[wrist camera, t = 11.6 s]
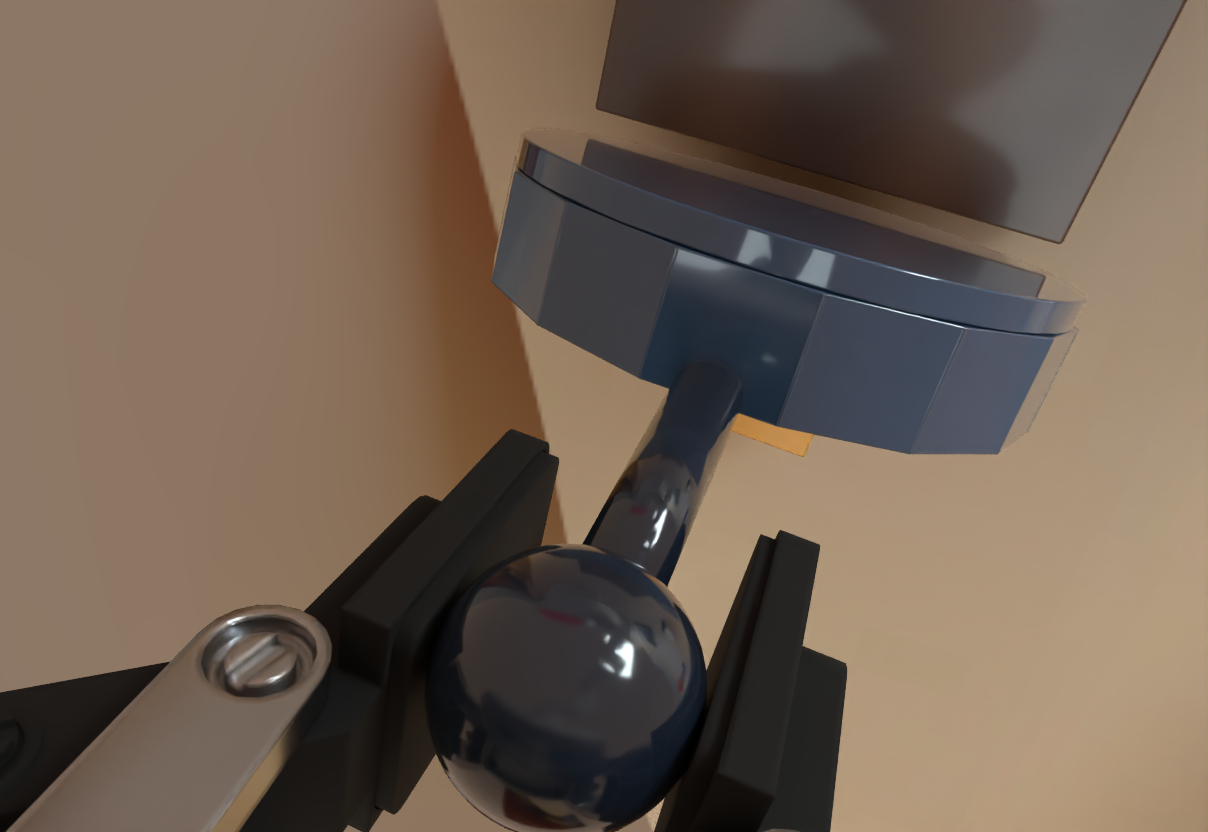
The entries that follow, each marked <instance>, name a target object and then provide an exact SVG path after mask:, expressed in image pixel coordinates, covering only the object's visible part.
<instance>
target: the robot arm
mask: <svg viewBox="0 0 1208 832" xmlns="http://www.w3.org/2000/svg"><path fill="white" fill-rule="evenodd" d="M558 466H559V458H558V457H556V456H553V455H550V454H549V444H548V442H545V441H542V440H540V439H537V438H535V437H532V436H529V435H527V434H524V433H521V432H519V431H516V430H513V429H511V430H509V431H508V432H506V433H505V435H504V436H503V437H502V438H501V439H500V440H499V441H498V442H497V443H496V444H495V445H494V446H493V447H492V448H491V449H490V450H489V452H488V453H487V454H486V455H485V456H484V457H483V458H482V459H481V460H480V461H479V462H478V463H477V464H476V465H475V467H473V469H472V470H471V471H470V472H469V473H468V474H467V475H466V476H465V477H464V478H463V479H462V480H461V481H460V483H459V484H458V485H457V486H456V487H455V488H454V489H453V490H452V491H451V492H450V493H449V494H448V495H447V496H446V497H445V498H444V499H443V501H439V500H437V499H434V498H431V497H429V496H426V495H425V496H420V497H419V498H417V499H416V500H415V501H414V502H413V503H411V504H410V505H409V506H408V508H407V509H405V510H404V511H403V512H402V513H401V514H400V515H399V516H398V517H397V518H396V519H395V520H394V522H392V523H391V524H390V525H389V526H388V527H387V528H386V530H384V532H383V533H381V535H380V536H379V537H378V538H377V539H376V540H375V541H374V542H373V543H372V544H371V545H370V546H369V547H368V548H367V549H366V550H365V551H364V552H363V553H362V554H361V555H360V556H359V557H358V558H357V559H356V560H355V561H354V562H353V563H352V564H351V565H350V566H349V567H348V568H347V569H346V570H345V571H344V572H343V573H342V574H341V575H340V576H339V577H338V578H337V579H336V580H335V581H334V582H333V583H332V584H331V585H330V586H329V587H328V588H327V589H326V590H325V591H324V592H323V593H322V594H321V595H320V596H319V597H318V598H317V599H316V600H315V601H314V602H313V603H312V604H311V605H310V606H309V607H308V608H307V609H306V610H305V611H304V612H303V611H301V610H299V609H296V608H291V607H286V606H282V605H255V606H250V607H246V608H241V609H237V610H234V611H232V612H230V613H228V614H225V615H223V616H221V617H219V618H217V619H215V620H214V621H213V622H211V623H210V624H209V625H208V626H206V627H205V628H204V629H203V630H201V631H200V632H199V633H198V634H197V635H196V636H195V637H194V638H193V639H192V640H191V641H190V642H189V643H188V644H187V645H186V646H185V647H184V648H183V649H182V650H181V651H180V652H179V653H178V654H177V655H176V657H175V658H174V659H173V660H172V661H171V662H166V663H160V664H155V665H149V666H144V667H138V668H133V669H128V670H122V671H117V672H111V673H105V674H100V675H94V676H89V677H83V678H78V679H73V680H67V681H61V682H56V683H50V684H45V685H39V686H34V687H28V688H23V689H17V690H12V691H6V692H1V693H0V832H343V831H344V830H345V828H346V827H347V826H348V825H350V826H352V827H354V828H356V829H358V830H360V831H362V832H369V831H370V829H371V827H372V826H373V824H374V823H375V822H376V820H377V818H378V817H379V815H380V814H381V812H382V811H383V810H386V811H387V812H389V813H391V814H396V813H397V812H398V811H399V810H400V809H401V807H402V806H403V804H404V803H405V801H406V800H407V798H408V797H409V795H410V793H411V792H412V790H413V789H414V787H415V786H416V784H417V783H418V781H419V779H420V778H421V776H422V775H423V773H424V772H425V770H426V768H427V767H428V765H429V764H430V762H431V761H432V759H433V757H434V756H435V754H436V752H435V750H434V748H433V745H432V741H431V738H430V735H429V730H428V726H427V722H426V714H425V701H424V688H425V676H426V668H427V663H428V659H429V655H430V651H431V648H432V645H433V642H434V638H435V636H436V634H437V632H438V630H439V628H440V626H441V624H442V622H443V620H444V618H445V616H446V614H447V613H448V611H449V610H450V608H451V607H452V606H453V604H454V603H455V601H456V600H457V599H458V597H459V596H460V595H461V593H462V592H463V591H464V590H465V589H466V588H467V587H468V586H469V585H470V584H471V583H472V582H473V581H474V580H475V579H477V578H478V577H479V576H480V575H481V574H483V573H484V572H485V571H487V570H488V569H490V568H491V567H493V566H494V565H496V564H497V563H499V562H500V561H502V560H505V559H507V558H509V557H511V556H513V555H515V554H517V553H519V552H522V551H525V550H529V549H533V548H537V547H541V543H542V538H543V534H544V529H545V525H546V520H547V516H548V511H549V507H550V502H551V498H552V493H553V489H554V484H555V480H556V475H557V471H558ZM819 551H820V545H819V544H816V543H814V542H811V541H809V540H806V539H803V538H801V537H798V536H795V535H793V534H790V533H787V532H785V531H782V530H780V531H779V532H778V534H777V536H776V539H772V538H770V537H767V536H764V535H762V534H761V535H760V537H759V539H758V542H757V544H756V547H755V549H754V552H753V554H752V557H751V559H750V562H749V564H748V567H747V569H746V572H745V574H744V577H743V579H742V582H741V585H740V587H739V590H738V592H737V595H736V597H735V600H734V602H733V605H732V607H731V610H730V612H729V615H728V617H727V620H726V623H725V625H724V628H723V630H722V633H721V635H720V638H719V640H718V643H717V645H716V648H715V650H714V653H713V655H712V658H711V661H710V663H709V666H708V668H707V671H706V672H707V706H706V713H705V718H704V721H703V724H702V728H701V731H700V734H699V737H698V740H697V743H696V745H695V748H694V751H693V754H692V756H691V759H690V761H689V764H688V766H687V768H686V770H685V772H684V773H683V775H682V777H681V778H680V779H679V781H678V782H677V784H676V785H675V786H674V788H673V789H672V790H671V791H670V792H669V793H668V795H667V796H666V797H665V799H664V802H663V805H662V809H661V812H660V815H659V818H658V821H657V824H656V827H655V831H654V832H830V827H831V818H832V809H833V800H834V791H835V781H836V772H837V763H838V754H839V745H840V735H841V726H842V717H843V708H844V699H845V689H846V680H847V666H846V663H844V662H841V661H839V660H836V659H834V658H831V657H829V656H826V655H824V654H821V653H819V652H816V651H814V650H811V649H809V648H806V647H804V646H802V645H803V639H804V634H805V628H806V623H807V617H808V612H809V606H810V601H811V595H812V590H813V584H814V579H815V573H816V568H817V562H818V557H819Z"/></svg>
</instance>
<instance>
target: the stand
mask: <svg viewBox="0 0 1208 832" xmlns="http://www.w3.org/2000/svg"><path fill="white" fill-rule="evenodd" d="M1186 2H1187V0H616V5H615V10H614V15H613V20H612V25H611V30H610V35H609V40H608V45H607V51H606V56H605V61H604V66H603V71H602V76H601V81H600V86H599V91H598V96H597V101H596V109H598V110H600V111H604V112H607V113H610V114H614V115H617V116H621V117H624V118H628V119H631V120H634V121H638V122H641V123H645V124H648V125H652V126H655V127H658V128H662V129H665V130H669V131H672V132H676V133H679V134H682V135H686V136H689V137H693V138H696V139H699V140H703V141H706V142H710V143H713V144H717V145H720V146H723V147H727V148H730V149H734V150H737V151H741V152H744V153H747V154H751V155H754V156H758V157H761V158H765V159H768V160H771V161H775V162H778V163H782V164H785V165H789V166H792V167H795V168H799V169H802V170H806V171H809V172H813V173H816V174H819V175H823V176H826V177H830V178H833V179H837V180H840V181H843V182H847V183H850V184H854V185H857V186H861V187H864V188H867V189H871V190H874V191H878V192H881V193H884V194H888V195H891V196H895V197H898V198H902V199H905V200H908V201H912V202H915V203H919V204H922V205H926V206H929V207H932V208H936V209H939V210H943V211H946V212H950V213H953V214H956V215H960V216H963V217H967V218H970V219H974V220H977V221H980V222H984V223H987V224H991V225H994V226H998V227H1001V228H1004V229H1008V230H1011V231H1015V232H1018V233H1022V234H1025V235H1028V236H1032V237H1035V238H1039V239H1042V240H1045V241H1049V242H1052V243H1056V244H1061V243H1062V242H1063V241H1064V239H1065V237H1066V235H1067V233H1068V231H1069V230H1070V228H1071V226H1072V224H1073V222H1074V220H1075V218H1076V216H1077V214H1078V212H1079V210H1080V208H1081V206H1082V204H1083V202H1084V200H1085V198H1086V196H1087V194H1088V193H1089V191H1090V189H1091V187H1092V185H1093V183H1094V181H1095V179H1096V177H1097V175H1098V173H1099V171H1100V169H1101V167H1102V165H1103V163H1104V161H1105V159H1106V158H1107V156H1108V154H1109V152H1110V150H1111V148H1112V146H1113V144H1114V142H1115V140H1116V138H1117V136H1118V134H1119V132H1120V130H1121V128H1122V126H1123V124H1124V122H1125V121H1126V119H1127V117H1128V115H1129V113H1130V111H1131V109H1132V107H1133V105H1134V103H1135V101H1136V99H1137V97H1138V95H1139V93H1140V91H1141V89H1142V87H1143V86H1144V84H1145V82H1146V80H1147V78H1148V76H1149V74H1150V72H1151V70H1152V68H1153V66H1154V64H1155V62H1156V60H1157V58H1158V56H1159V54H1160V52H1161V50H1162V49H1163V47H1164V45H1165V43H1166V41H1167V39H1168V37H1169V35H1170V33H1171V31H1172V29H1173V27H1174V25H1175V23H1176V21H1177V19H1178V17H1179V15H1180V14H1181V12H1182V10H1183V8H1184V6H1185V4H1186Z"/></svg>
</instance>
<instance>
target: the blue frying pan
mask: <svg viewBox="0 0 1208 832" xmlns="http://www.w3.org/2000/svg"><path fill="white" fill-rule="evenodd" d="M492 283H493V284H494V285H495V286H497V287H498V288H499V289H500V290H501V291H502V292H503V293H504V294H505V295H506V296H507V297H508V298H509V299H510V300H511V301H512V302H514V303H515V304H516V305H517V306H518V307H519V308H520V309H521V310H522V311H523V312H524V313H525V314H526V315H527V316H528V317H530V318H531V319H532V320H533V321H534V322H535V323H536V324H537V325H538V326H540V327H542V328H544V329H546V330H548V331H550V332H552V333H554V334H555V335H557V336H559V337H561V338H563V339H565V340H567V341H569V342H571V343H573V344H575V345H576V346H578V347H580V348H582V349H584V350H586V351H588V352H590V353H592V354H594V355H595V356H597V357H599V358H601V359H603V360H605V361H607V362H609V363H611V364H613V365H615V366H616V367H618V368H620V369H622V370H624V371H626V372H628V373H630V374H632V375H634V376H636V377H637V378H639V379H642V380H645V381H648V382H651V383H654V384H656V385H659V386H662V387H665V388H668V389H669V391H668V392H667V394H666V396H665V398H664V399H663V401H662V403H661V405H660V407H659V408H658V410H657V412H656V414H655V416H654V417H653V419H652V421H651V423H650V424H649V426H648V428H647V430H646V432H645V433H644V435H643V437H642V439H641V440H640V442H639V444H638V446H637V448H636V449H635V451H634V453H633V455H632V457H631V458H630V460H629V462H628V464H627V465H626V467H625V469H624V471H623V473H622V474H621V476H620V478H619V480H618V482H617V483H616V485H615V487H614V489H613V490H612V492H611V494H610V496H609V498H608V499H607V501H606V503H605V505H604V506H603V508H602V510H601V512H600V514H599V515H598V517H597V519H596V521H595V523H594V524H593V526H592V528H591V530H590V531H589V533H588V535H587V537H586V539H585V540H584V542H583V544H554V545H546V546H542V547H537V548H533V549H529V550H525V551H522V552H519V553H517V554H515V555H513V556H511V557H509V558H507V559H505V560H502V561H500V562H499V563H497V564H496V565H494V566H493V567H491V568H490V569H488V570H487V571H485V572H484V573H483V574H481V575H480V576H479V577H478V578H477V579H475V580H474V581H473V582H472V583H471V584H470V585H469V586H468V587H467V588H466V589H465V590H464V591H463V592H462V593H461V595H460V596H459V597H458V599H457V600H456V601H455V603H454V604H453V606H452V607H451V608H450V610H449V611H448V613H447V614H446V616H445V618H444V620H443V622H442V624H441V626H440V628H439V630H438V632H437V634H436V636H435V638H434V642H433V645H432V648H431V651H430V655H429V659H428V663H427V668H426V676H425V688H424V701H425V714H426V722H427V726H428V730H429V735H430V738H431V741H432V745H433V748H434V750H435V752H436V755H437V756H438V759H439V761H440V763H441V765H442V767H443V769H444V771H445V773H446V775H447V776H448V778H449V779H450V781H451V782H452V784H453V785H454V786H455V787H456V789H457V790H458V791H459V792H460V793H461V794H462V796H463V797H464V798H465V799H466V800H467V801H468V802H469V803H470V804H471V805H472V806H473V807H474V808H475V809H477V810H478V811H479V812H480V813H482V814H483V815H484V816H486V817H487V818H489V819H490V820H491V821H494V822H495V823H497V824H499V825H501V826H502V827H504V828H507V829H509V830H512V831H514V832H615V831H618V830H619V829H622V828H623V827H625V826H627V825H629V824H631V823H633V822H634V821H636V820H638V819H640V818H641V817H643V816H644V815H645V814H647V813H648V812H649V811H651V810H652V809H653V808H654V807H655V806H656V805H657V804H659V803H660V802H661V801H662V800H663V799H664V798H665V797H666V796H667V795H668V793H669V792H670V791H671V790H672V789H673V788H674V786H675V785H676V784H677V782H678V781H679V779H680V778H681V777H682V775H683V773H684V772H685V770H686V768H687V766H688V764H689V761H690V759H691V756H692V754H693V751H694V748H695V745H696V743H697V740H698V737H699V734H700V731H701V728H702V724H703V721H704V718H705V713H706V706H707V672H706V667H705V662H704V657H703V652H702V648H701V645H700V642H699V639H698V637H697V634H696V632H695V629H694V626H693V624H692V622H691V620H690V619H689V617H688V615H687V613H686V612H685V610H684V608H683V607H682V605H681V603H680V602H679V601H678V599H677V598H676V597H675V595H674V594H673V593H672V592H671V591H670V590H669V589H668V588H667V586H668V583H669V581H670V579H671V576H672V574H673V571H674V569H675V566H676V564H677V562H678V559H679V557H680V554H681V552H682V549H683V547H684V545H685V542H686V540H687V537H688V535H689V532H690V530H691V528H692V525H693V523H694V520H695V518H696V516H697V513H698V511H699V508H700V506H701V503H702V501H703V499H704V496H705V494H706V491H707V489H708V486H709V484H710V482H711V479H712V477H713V474H714V472H715V469H716V467H717V465H718V462H719V460H720V457H721V455H722V453H723V450H724V448H725V445H726V443H727V440H728V438H729V436H730V433H731V431H732V428H733V426H734V423H735V421H736V419H737V416H738V414H742V415H745V416H748V417H750V418H753V419H756V420H759V421H762V422H765V423H767V424H770V425H773V426H776V427H781V428H785V429H790V430H795V431H800V432H805V433H809V434H814V435H819V436H824V437H829V438H833V439H838V440H843V441H848V442H853V443H857V444H862V445H867V446H872V447H877V448H881V449H886V450H891V451H896V452H901V453H905V454H998V453H1000V452H1001V451H1002V450H1004V449H1005V448H1006V447H1008V446H1009V445H1010V444H1012V443H1013V442H1015V441H1016V440H1017V439H1019V438H1020V437H1021V436H1023V435H1024V434H1026V433H1027V432H1028V431H1029V429H1030V427H1031V425H1032V423H1033V421H1034V419H1035V417H1036V415H1037V413H1038V411H1039V409H1040V407H1041V405H1042V403H1043V401H1044V399H1045V397H1046V395H1047V393H1048V391H1049V389H1050V387H1051V385H1052V383H1053V381H1054V379H1055V377H1056V375H1057V373H1058V371H1059V369H1060V367H1061V365H1062V363H1063V361H1064V359H1065V357H1066V355H1067V353H1068V351H1069V349H1070V347H1071V345H1072V343H1073V341H1074V339H1075V337H1076V335H1077V333H1078V329H1077V328H1076V327H1075V326H1074V325H1075V323H1076V321H1077V319H1078V317H1079V315H1080V313H1081V311H1082V309H1083V307H1084V305H1085V303H1086V296H1085V294H1084V293H1082V292H1081V291H1080V290H1079V289H1078V288H1076V287H1075V286H1073V285H1071V284H1070V283H1068V282H1066V281H1065V280H1063V279H1061V278H1059V277H1057V276H1055V275H1053V274H1051V273H1048V272H1046V271H1044V270H1042V269H1040V268H1037V267H1035V266H1033V265H1031V264H1028V263H1026V262H1023V261H1021V260H1018V259H1016V258H1014V257H1011V256H1009V255H1006V254H1003V253H1001V252H998V251H996V250H993V249H991V248H988V247H985V246H983V245H980V244H977V243H974V242H972V241H969V240H966V239H964V238H961V237H958V236H955V235H952V234H950V233H947V232H944V231H941V230H938V229H935V228H932V227H929V226H926V225H923V224H921V223H918V222H915V221H912V220H909V219H906V218H903V217H900V216H896V215H893V214H890V213H887V212H884V211H881V210H878V209H875V208H872V207H869V206H865V205H862V204H859V203H856V202H853V201H849V200H846V199H843V198H840V197H836V196H833V195H830V194H826V193H823V192H820V191H816V190H813V189H810V188H806V187H803V186H799V185H796V184H793V183H789V182H786V181H782V180H779V179H775V178H772V177H768V176H764V175H761V174H757V173H754V172H750V171H746V170H743V169H739V168H735V167H732V166H728V165H724V164H720V163H716V162H713V161H709V160H705V159H701V158H697V157H693V156H689V155H685V154H681V153H677V152H673V151H668V150H664V149H660V148H656V147H651V146H647V145H643V144H638V143H634V142H629V141H624V140H619V139H615V138H610V137H604V136H599V135H594V134H588V133H582V132H576V131H569V130H562V129H552V128H530V129H525V130H524V131H523V133H522V134H521V138H520V143H519V148H518V152H517V156H516V157H515V161H514V166H513V170H512V175H511V180H510V185H509V189H508V194H507V199H506V204H505V209H504V213H503V218H502V223H501V228H500V232H499V237H498V242H497V247H496V251H495V259H494V266H493V275H492Z"/></svg>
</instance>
